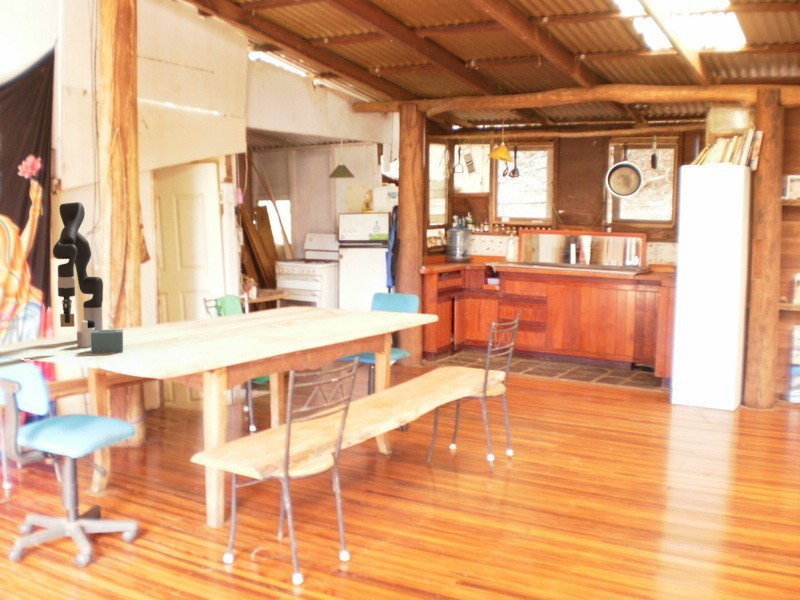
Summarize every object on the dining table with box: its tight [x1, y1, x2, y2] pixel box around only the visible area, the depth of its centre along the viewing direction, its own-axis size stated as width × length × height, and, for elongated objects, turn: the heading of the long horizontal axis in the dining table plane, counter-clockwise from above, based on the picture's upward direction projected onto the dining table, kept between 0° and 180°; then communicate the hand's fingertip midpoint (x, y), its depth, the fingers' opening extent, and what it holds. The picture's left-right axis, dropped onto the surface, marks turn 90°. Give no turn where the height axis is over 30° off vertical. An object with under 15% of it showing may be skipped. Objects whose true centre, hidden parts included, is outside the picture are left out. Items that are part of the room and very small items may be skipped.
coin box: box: [90, 329, 124, 354], centre depth 396 cm, size 10×14×10 cm
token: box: [59, 313, 75, 328], centre depth 391 cm, size 2×6×6 cm, turn 107°
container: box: [76, 319, 95, 348], centre depth 411 cm, size 8×8×13 cm
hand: (67, 322), depth 391 cm, fingers closed on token, 1 cm apart
